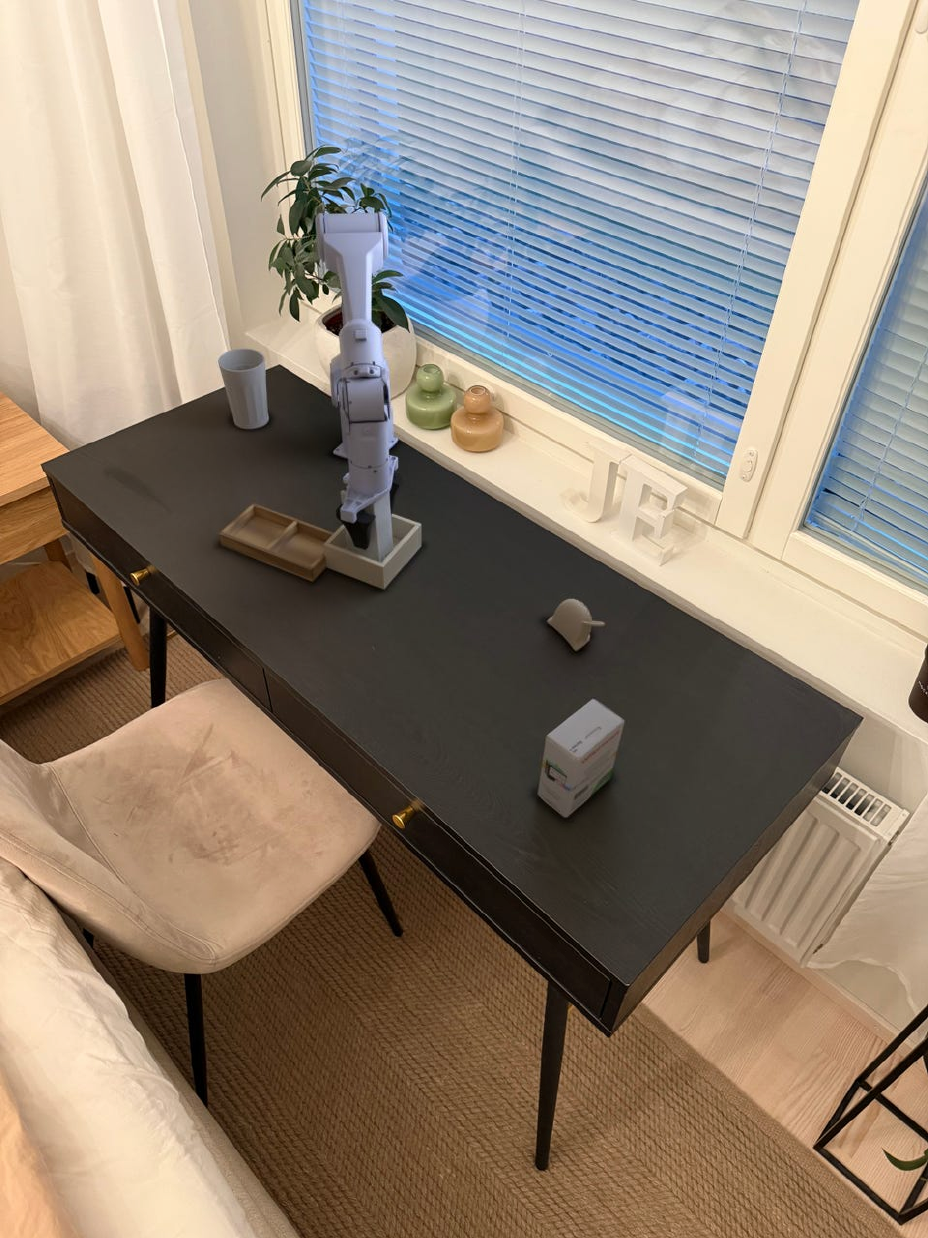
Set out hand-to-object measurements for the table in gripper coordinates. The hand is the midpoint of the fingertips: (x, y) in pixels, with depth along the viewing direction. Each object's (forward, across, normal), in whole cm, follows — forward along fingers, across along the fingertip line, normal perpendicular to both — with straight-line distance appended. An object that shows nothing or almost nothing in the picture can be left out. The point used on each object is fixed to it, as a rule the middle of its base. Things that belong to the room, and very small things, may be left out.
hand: (372, 531), depth 134 cm
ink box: (+5, +28, +41) cm, 50 cm away
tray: (+5, +4, -14) cm, 15 cm away
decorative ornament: (+5, +4, +33) cm, 34 cm away
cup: (+5, -25, -37) cm, 45 cm away
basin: (+5, 0, 0) cm, 5 cm away
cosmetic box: (+5, 0, -1) cm, 5 cm away
